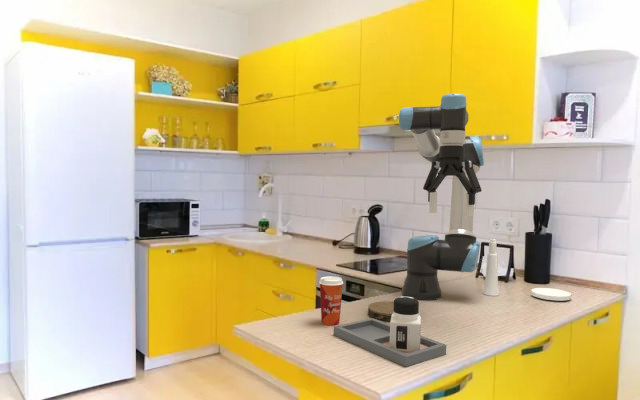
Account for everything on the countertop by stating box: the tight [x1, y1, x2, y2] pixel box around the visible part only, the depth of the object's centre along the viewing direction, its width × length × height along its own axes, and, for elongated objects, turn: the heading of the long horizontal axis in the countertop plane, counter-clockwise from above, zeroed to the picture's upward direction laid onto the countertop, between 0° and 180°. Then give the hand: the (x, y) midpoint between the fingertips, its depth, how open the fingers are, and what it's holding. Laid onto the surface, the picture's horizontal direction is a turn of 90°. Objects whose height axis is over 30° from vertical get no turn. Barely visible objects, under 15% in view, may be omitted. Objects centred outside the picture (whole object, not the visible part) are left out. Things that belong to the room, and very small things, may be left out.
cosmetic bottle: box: [482, 238, 500, 297], centre depth 192 cm, size 6×6×22 cm
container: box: [389, 296, 422, 352], centre depth 128 cm, size 8×8×13 cm
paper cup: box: [318, 275, 344, 326], centre depth 152 cm, size 8×8×14 cm
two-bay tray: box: [333, 317, 447, 368], centre depth 134 cm, size 28×15×2 cm, turn 37°
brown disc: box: [367, 300, 394, 323], centre depth 161 cm, size 16×16×3 cm
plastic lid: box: [530, 287, 572, 302], centre depth 189 cm, size 14×14×2 cm
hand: (450, 214), depth 150 cm, fingers open, 13 cm apart
